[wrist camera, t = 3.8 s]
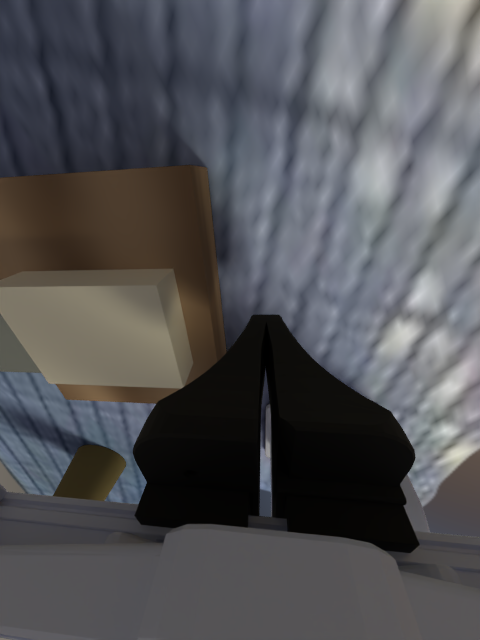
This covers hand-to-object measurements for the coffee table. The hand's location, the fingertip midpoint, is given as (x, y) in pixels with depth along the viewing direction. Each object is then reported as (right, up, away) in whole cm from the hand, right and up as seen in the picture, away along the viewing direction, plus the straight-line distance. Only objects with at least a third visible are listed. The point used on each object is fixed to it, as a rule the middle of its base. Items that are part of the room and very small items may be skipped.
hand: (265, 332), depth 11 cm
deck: (-8, +2, +4) cm, 10 cm away
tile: (-8, +1, +2) cm, 8 cm away
